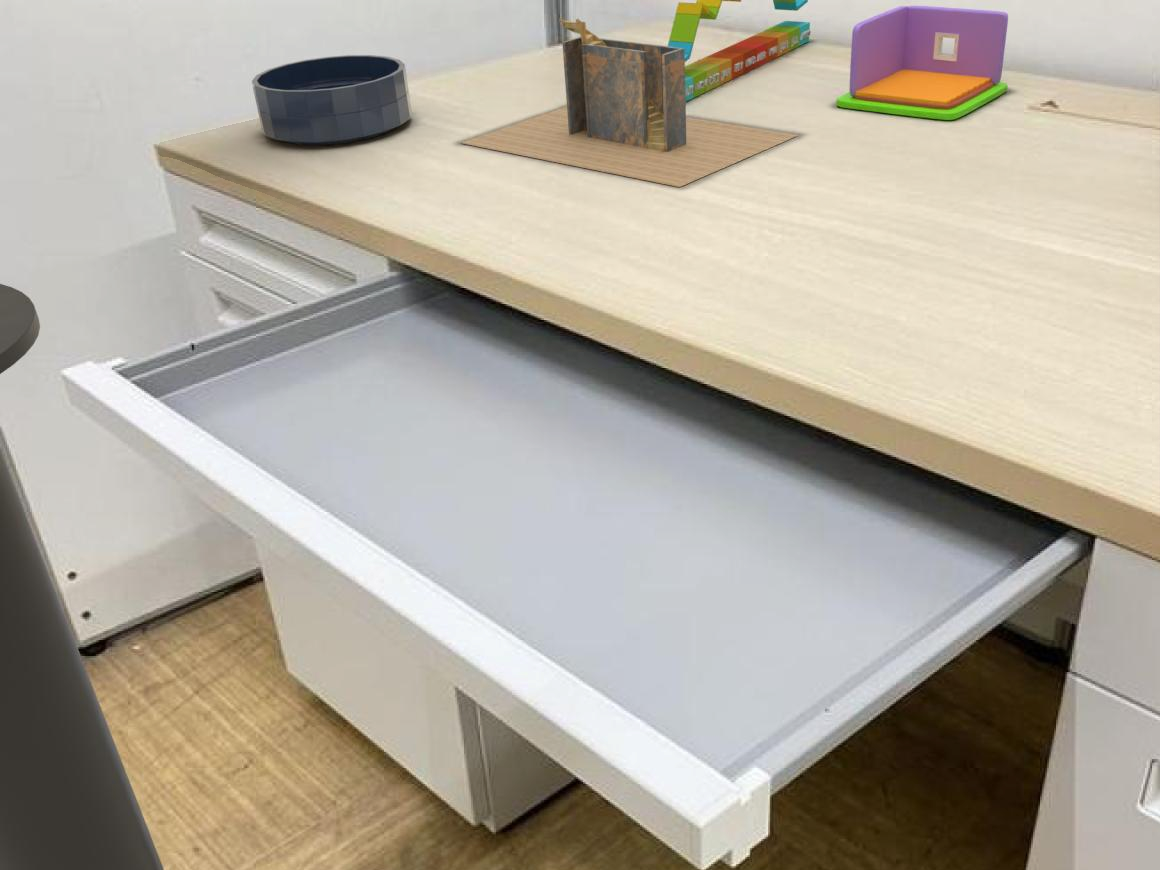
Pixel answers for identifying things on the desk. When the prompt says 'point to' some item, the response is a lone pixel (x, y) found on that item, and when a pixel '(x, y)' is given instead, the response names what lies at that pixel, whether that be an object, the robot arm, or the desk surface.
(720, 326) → the desk surface
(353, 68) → the bowl
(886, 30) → the dollhouse room
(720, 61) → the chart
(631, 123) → the architectural model on board
